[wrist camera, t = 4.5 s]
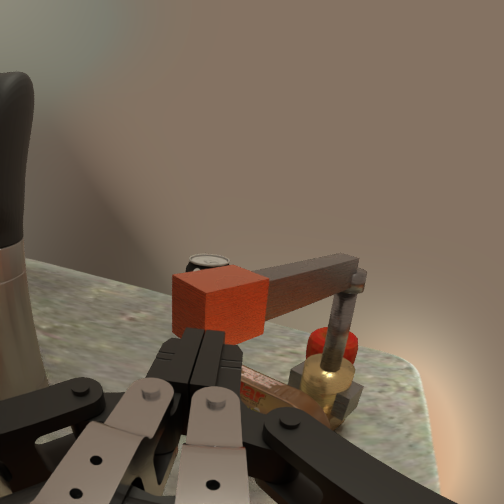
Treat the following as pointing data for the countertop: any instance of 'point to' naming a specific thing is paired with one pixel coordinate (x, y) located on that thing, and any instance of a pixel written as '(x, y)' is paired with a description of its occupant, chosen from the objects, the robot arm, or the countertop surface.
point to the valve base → (331, 367)
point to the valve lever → (257, 294)
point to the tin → (276, 395)
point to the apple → (318, 341)
